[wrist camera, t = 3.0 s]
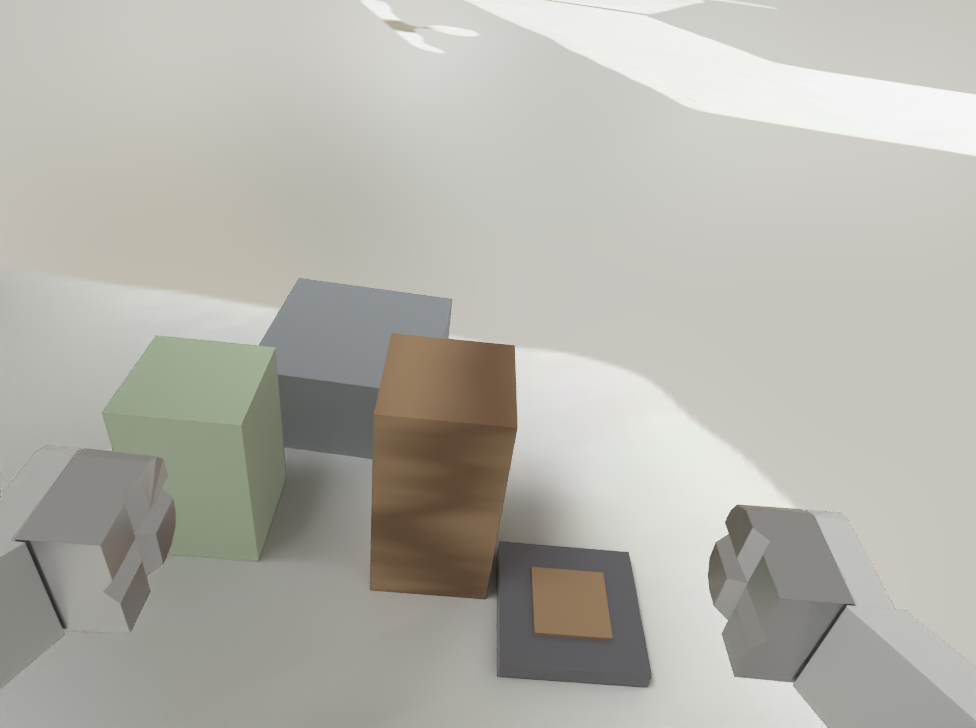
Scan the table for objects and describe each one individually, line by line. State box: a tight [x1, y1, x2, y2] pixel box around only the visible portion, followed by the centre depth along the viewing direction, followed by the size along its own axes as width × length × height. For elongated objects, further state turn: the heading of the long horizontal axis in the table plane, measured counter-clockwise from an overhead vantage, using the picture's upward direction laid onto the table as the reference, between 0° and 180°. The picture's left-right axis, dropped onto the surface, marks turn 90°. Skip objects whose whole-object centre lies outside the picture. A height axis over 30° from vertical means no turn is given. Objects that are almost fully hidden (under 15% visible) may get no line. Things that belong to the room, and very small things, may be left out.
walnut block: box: [370, 333, 517, 599], centre depth 29 cm, size 5×5×10 cm
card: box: [497, 542, 652, 687], centre depth 30 cm, size 6×6×1 cm
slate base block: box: [259, 278, 452, 459], centre depth 39 cm, size 9×9×5 cm
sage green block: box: [102, 336, 286, 562], centre depth 30 cm, size 5×5×8 cm
